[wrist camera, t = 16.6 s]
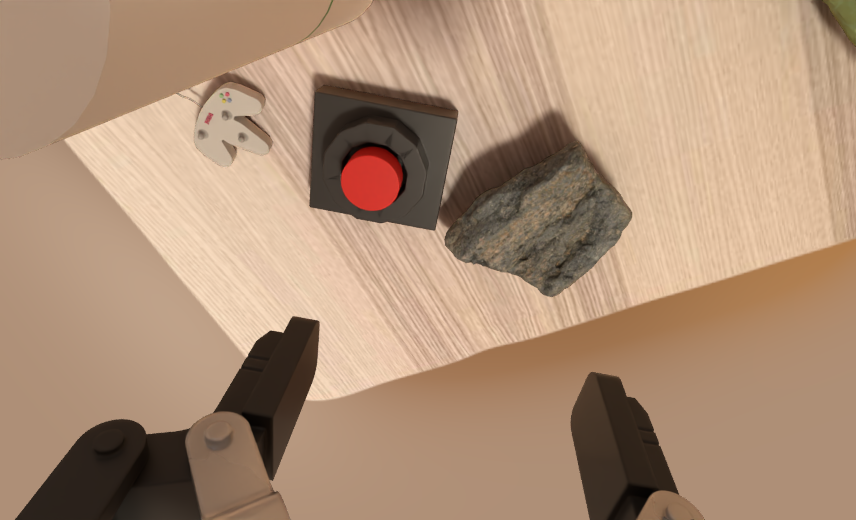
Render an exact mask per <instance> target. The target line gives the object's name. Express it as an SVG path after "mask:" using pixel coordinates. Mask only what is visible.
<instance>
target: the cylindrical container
mask: <svg viewBox="0 0 856 520" xmlns="http://www.w3.org/2000/svg"><path fill="white" fill-rule="evenodd" d="M372 2H373V0H0V160H2V159H10V158H17V157H21V156H24V155H26V154H29V153H31V152H33V151H36V150H39V149H41V148H43V147H46V146H48V145H51V144H53V143H56V142H58V141H60V140H63V139H65V138H68V137H70V136H73V135H75V134H78V133H80V132H83V131H85V130H88V129H90V128H92V127H95V126H97V125H100V124H102V123H105V122H107V121H110V120H112V119H115V118H117V117H119V116H122V115H124V114H127V113H129V112H132V111H134V110H137V109H139V108H141V107H144V106H146V105H149V104H151V103H154V102H156V101H159V100H161V99H164V98H166V97H168V96H171V95H173V94H176V93H178V92H181V91H183V90H186V89H188V88H191V87H193V86H195V85H198V84H200V83H203V82H205V81H208V80H210V79H213V78H215V77H217V76H220V75H222V74H225V73H227V72H230V71H232V70H235V69H237V68H240V67H242V66H244V65H247V64H249V63H252V62H254V61H257V60H259V59H262V58H264V57H267V56H269V55H271V54H274V53H276V52H279V51H281V50H284V49H286V48H289V47H291V46H293V45H296V44H298V43H301V42H303V41H306V40H308V39H310V38H313V37H315V36H318V35H320V34H323V33H325V32H327V31H330V30H332V29H335V28H337V27H339V26H342V25H344V24H347V23H349V22H352V21H353V20H355V19H356V18H358V17H359V16H360V15H362V14H363V13H364V12H365V11H366V10H367V8H368V7H369V6H370V5H371V3H372Z"/></svg>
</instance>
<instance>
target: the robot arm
mask: <svg viewBox="0 0 856 520" xmlns="http://www.w3.org/2000/svg"><path fill="white" fill-rule="evenodd" d="M318 342H319V321H317V320H312V319H306V318H301V317H295V316H293V317H292V318H291V320H290V322H289V324H288V325H287V327H286V329H285V331H284V333H282V332H276V331H269V332H268V333H267V334H265V335H264V336H263V337H261V338H260V339H258V340H257V341H256V343H255V344H254V346H253V348H252V349H251V351H250V353H249V354H248V357H247V358H246V359H245V361H244V363H243V365H242V367H241V369H239V371H238V373H237V374H236V376H235V378H234V379H233V381H232V383H231V384H230V386H229V388H228V389H227V391H226V393H225V395H224V396H223V398H222V400H221V402H220V403H219V405H218V406H217V408H216V409H215V411H214V412H213V413H212V414H209V415H207V416H205V417H203V418H201V419H200V420H198V421H197V422H196V423H194V424H193V425H192V427H191V428H189V429H186V430H182V431H176V432H167V433H156V434H146V432H145V430H144V428H143V427H142V426H141V425H140V424H139V423H137V422H134V421H131V420H124V419H119V420H112V421H108V422H104V423H101V424H99V425H97V426H95V427H93V428H91V429H90V430H88V431H87V432H85V433H84V434H83V435H82V436H81V437H80V438H79V439H78V440H77V441H76V443H75V444H74V445H73V446H72V448H71V449H70V450H69V452H68V453H67V454H66V455H65V457H64V458H63V459H62V460H61V462H60V463H59V464H58V466H57V467H56V468H55V469H54V471H53V472H52V473H51V474H50V476H49V477H48V478H47V480H46V481H45V482H44V483H43V485H42V486H41V487H40V488H39V490H38V491H37V492H36V494H35V495H34V496H33V497H32V499H31V500H30V501H29V503H28V504H27V505H26V506H25V508H24V509H23V510H22V511H21V513H20V514H19V515H18V517H17V518H16V519H15V520H290V517H289V514H288V512H287V509H286V506H285V504H284V501H283V499H282V497H281V495H280V493H279V492H278V491H277V492H274V490H273V488H272V485H271V483H270V480H272V481H273V479H274V477H275V474H276V472H277V469H278V467H279V464H280V462H281V459H282V456H283V454H284V452H285V449H286V446H287V444H288V441H289V439H290V436H291V434H292V431H293V429H294V427H295V424H296V421H297V419H298V417H299V414H300V412H301V409H302V406H303V404H304V401H305V399H306V396H307V394H308V391H309V389H310V386H311V384H312V381H313V378H314V375H315V371H316V366H317V358H318ZM571 431H572V436H573V441H574V446H575V450H576V455H577V460H578V465H579V470H580V474H581V480H582V484H583V489H584V494H585V499H586V504H587V508H588V513H589V518H590V520H705V519H704V517H703V516H702V515H701V513H700V512H699V510H698V509H697V508H696V507H695V506H694V505H693V504H692V503H690V502H689V501H688V500H687V499H685V498H683V497H682V496H680V495H679V493H678V490H677V488H676V485H675V483H674V480H673V478H672V475H671V473H670V470H669V467H668V465H667V462H666V460H665V457H664V455H663V452H662V449H661V447H660V446H659V442H658V439H657V436H656V434H655V433H654V432H653V431H654V429H653V426H652V424H651V421H650V419H649V416H648V414H647V412H646V411H645V410H644V409H643V407H642V406H641V405H640V404H639V403H638V401H637V400H636V399H635V398H631V397H627V396H626V393H625V390H624V388H623V385H622V382H621V380H620V378H619V377H617V376H611V375H606V374H601V373H596V372H591V373H590V374H589V375H588V377H587V379H586V381H585V383H584V385H583V388H582V390H581V392H580V394H579V396H578V399H577V401H576V403H575V405H574V408H573V411H572V415H571Z"/></svg>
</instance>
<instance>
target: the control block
mask: <svg viewBox="0 0 856 520" xmlns="http://www.w3.org/2000/svg"><path fill="white" fill-rule="evenodd" d="M457 118H458V111H457V110H452V109H447V108H442V107H437V106H431V105H426V104H421V103H416V102H411V101H406V100H401V99H395V98H390V97H385V96H380V95H375V94H370V93H365V92H359V91H354V90H349V89H344V88H339V87H334V86H329V85H323V86H322V87H321V88H319V89H318V90H317V91H316V92H315V102H314V123H313V143H312V164H311V184H310V205H309V206H310V207H312V208H318V209H323V210H328V211H333V212H339V213H344V214H349V215H352V216H354V217H355V218H356V219H361V220H367V221H372V222H377V223H384V222H391V223H397V224H402V225H407V226H412V227H418V228H423V229H428V230H435V229H436V224H437V219H438V214H439V209H440V204H441V199H442V194H443V189H444V184H445V179H446V174H447V169H448V164H449V159H450V154H451V149H452V144H453V139H454V134H455V129H456V124H457ZM365 147H380V148H383V149H386V150H387V151H389V152H390V153H392V154H393V155H394V156H395V157H396V158H397V160H398V161H399V163H400V165H401V167H402V172H403V180H402V184H401V187H400V190H399V193H398V195H397V197H396V199H395V200H394V202H393V203H392V204H391V205H389V206H388V207H386V208H384V209H381V210H376V211H369V210H364V209H361V208H359V207H357V206H355V205H354V204H352V203H351V202H350V201H349V200H348V199H347V197H346V196H345V194H344V192H343V190H342V186H341V174H342V171H343V169H344V167H345V166H346V164H347V163H348V161H349V159H350V158H351V156H352V155H353V154H354V153H355V152H357V151H358V150H360V149H362V148H365Z"/></svg>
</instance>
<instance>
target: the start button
mask: <svg viewBox="0 0 856 520" xmlns="http://www.w3.org/2000/svg"><path fill="white" fill-rule="evenodd" d="M402 180H403V172H402V167H401V165H400V163H399V161H398V160H397V158H396V157H395V156H394V155H393V154H392V153H390V152H389V151H387V150H386V149H383V148H380V147H365V148H362V149H360V150H358V151H357V152H355V153H354V154H353V155H352V156H351V158H350V159H349V161H348V163H347V164H346V166H345V167H344V169H343V171H342V174H341V186H342V190H343V192H344V194H345V196H346V197H347V199H348V200H349V201H350V202H351V203H352V204H354V205H355V206H357V207H359V208H361V209H364V210H369V211H376V210H381V209H384V208H386V207H388V206H389V205H391V204H392V203H393V202H394V200H395V199H396V197H397V195H398V193H399V190H400V187H401V184H402Z"/></svg>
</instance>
